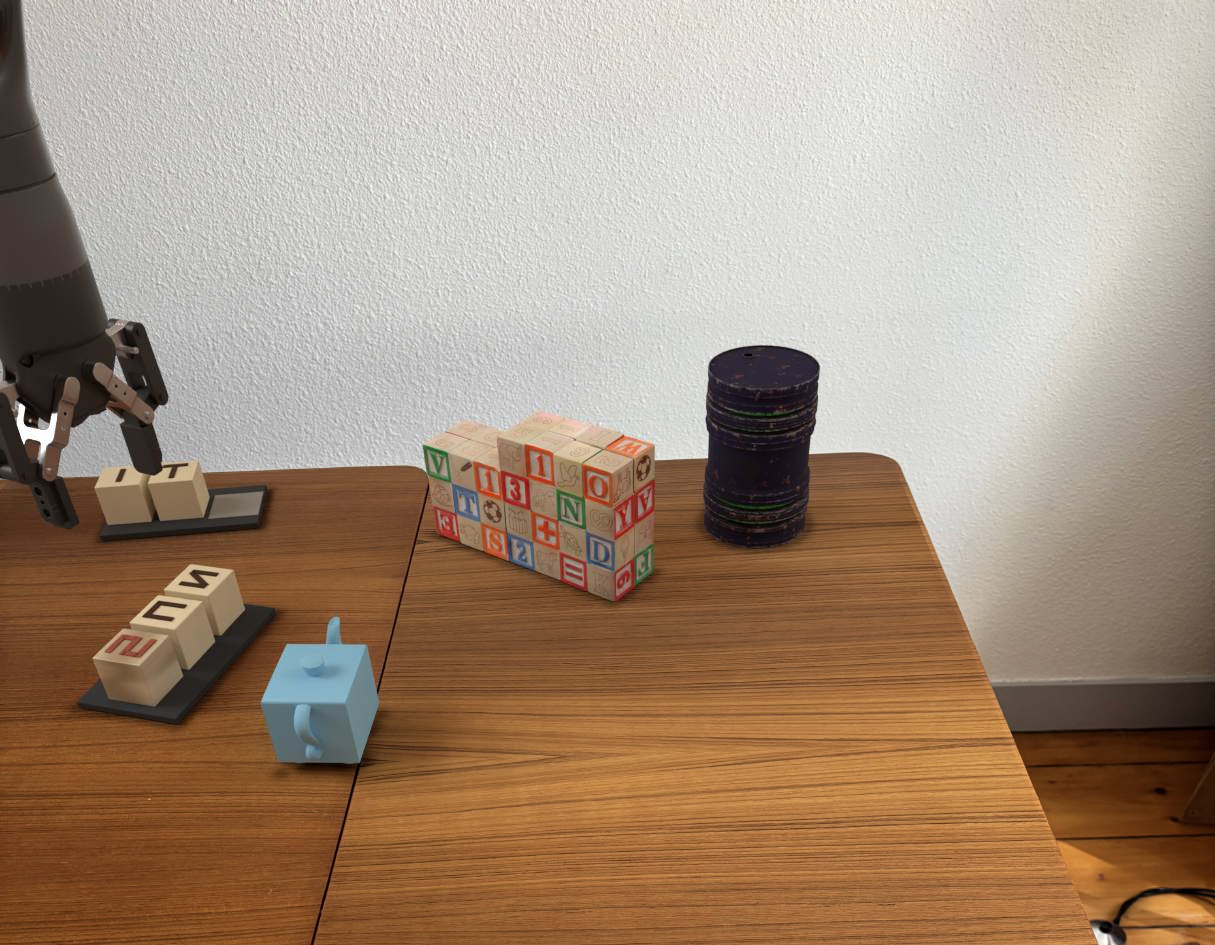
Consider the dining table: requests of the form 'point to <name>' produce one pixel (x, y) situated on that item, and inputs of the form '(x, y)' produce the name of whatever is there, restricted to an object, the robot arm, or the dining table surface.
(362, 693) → the teapot
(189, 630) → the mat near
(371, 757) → the dining table surface
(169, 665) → the tile
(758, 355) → the storage jar
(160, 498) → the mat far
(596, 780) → the dining table surface
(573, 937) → the dining table surface
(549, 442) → the stack of blocks
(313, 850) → the dining table surface
